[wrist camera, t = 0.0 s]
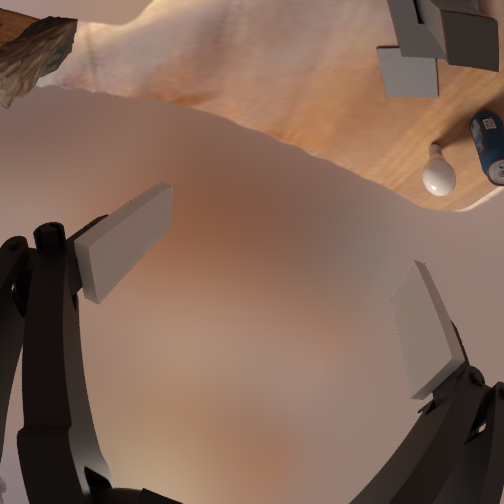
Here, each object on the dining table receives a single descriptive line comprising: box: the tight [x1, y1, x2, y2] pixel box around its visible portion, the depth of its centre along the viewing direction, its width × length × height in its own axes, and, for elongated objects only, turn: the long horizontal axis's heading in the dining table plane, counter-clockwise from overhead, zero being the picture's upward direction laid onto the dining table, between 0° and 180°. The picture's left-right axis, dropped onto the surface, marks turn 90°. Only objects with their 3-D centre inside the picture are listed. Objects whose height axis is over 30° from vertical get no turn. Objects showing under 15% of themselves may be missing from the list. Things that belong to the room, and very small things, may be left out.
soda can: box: [470, 111, 504, 186], centre depth 28 cm, size 7×7×12 cm
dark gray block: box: [387, 0, 479, 59], centre depth 16 cm, size 16×12×5 cm
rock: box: [0, 16, 78, 109], centre depth 30 cm, size 13×13×20 cm
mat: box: [376, 48, 438, 98], centre depth 30 cm, size 9×9×1 cm
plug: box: [413, 0, 499, 72], centre depth 14 cm, size 5×5×19 cm
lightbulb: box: [423, 144, 456, 196], centre depth 39 cm, size 6×6×11 cm
